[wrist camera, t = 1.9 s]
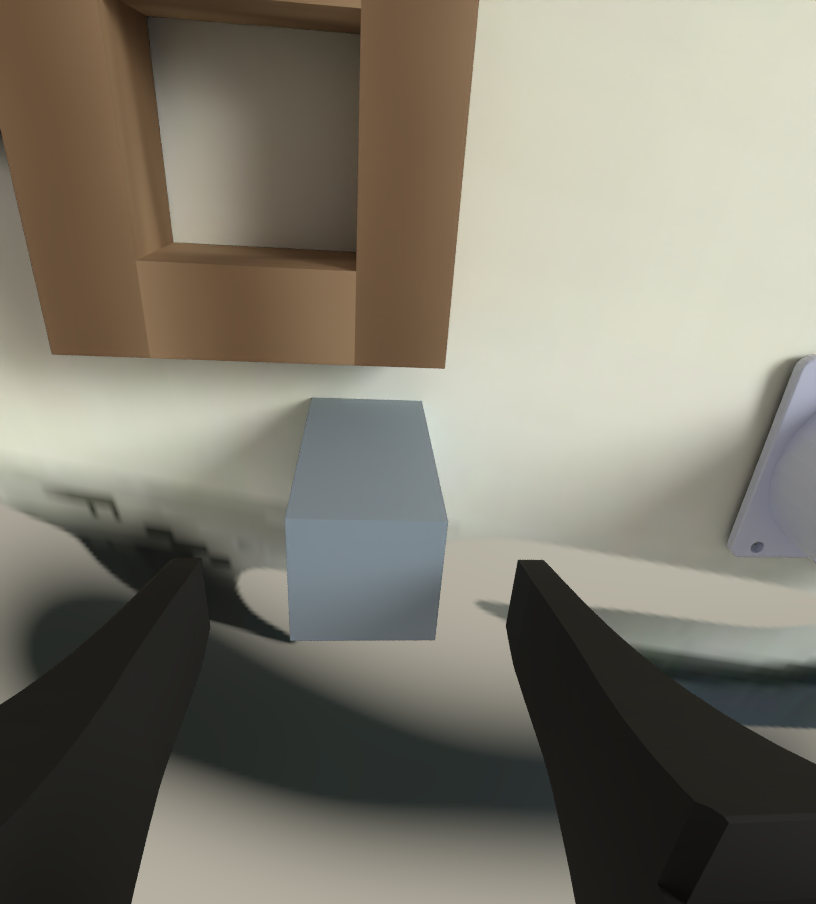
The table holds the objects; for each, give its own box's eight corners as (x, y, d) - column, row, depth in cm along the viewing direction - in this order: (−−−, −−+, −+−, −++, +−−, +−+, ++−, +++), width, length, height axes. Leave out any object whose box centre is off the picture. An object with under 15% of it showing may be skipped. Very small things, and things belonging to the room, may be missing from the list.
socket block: (467, -82, 14) (492, -138, 11) (433, 336, 18) (444, 368, 15) (16, -129, 13) (-76, -202, 10) (100, 322, 17) (51, 354, 15)
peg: (421, 401, 19) (447, 521, 13) (414, 494, 21) (434, 640, 15) (311, 397, 19) (284, 518, 13) (313, 492, 21) (290, 640, 14)
